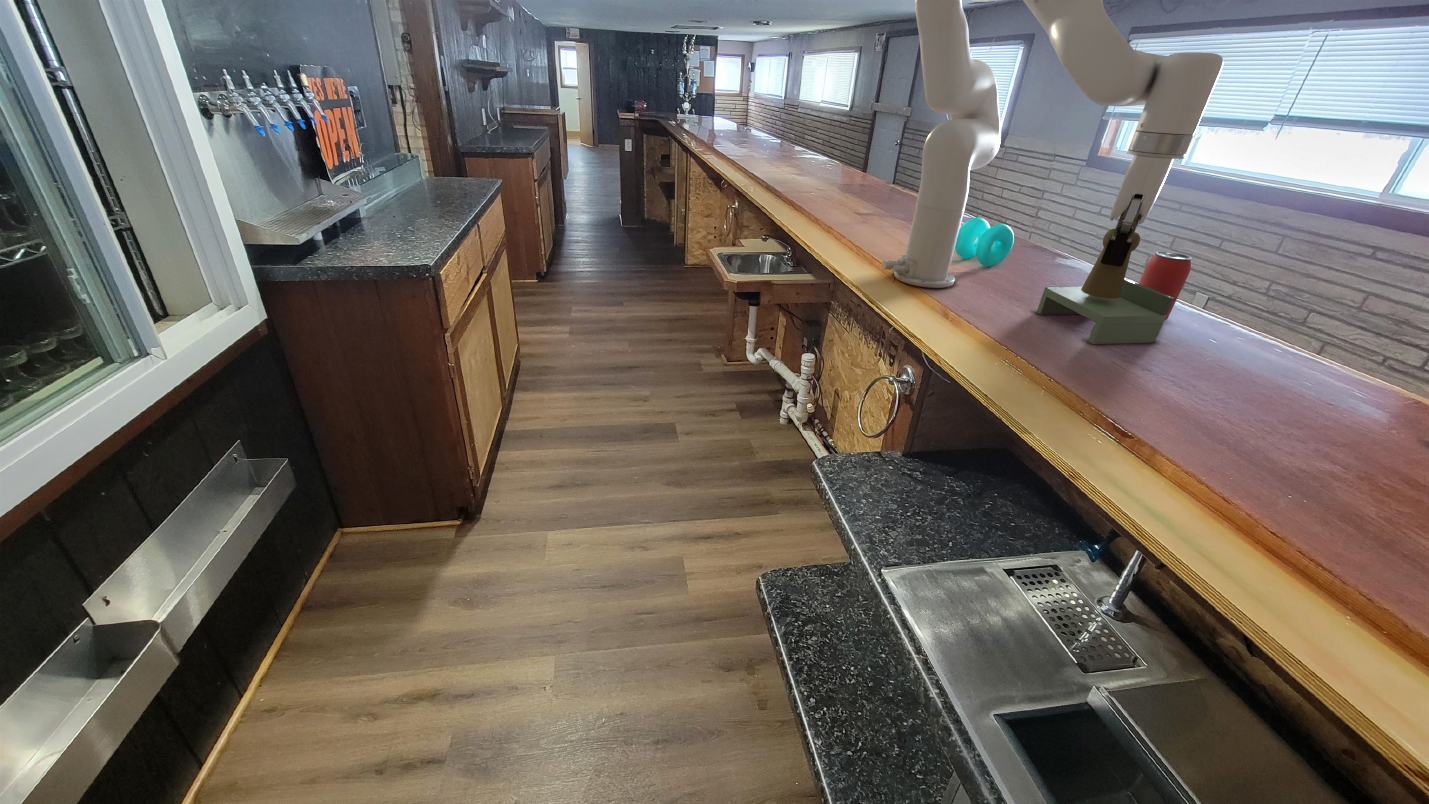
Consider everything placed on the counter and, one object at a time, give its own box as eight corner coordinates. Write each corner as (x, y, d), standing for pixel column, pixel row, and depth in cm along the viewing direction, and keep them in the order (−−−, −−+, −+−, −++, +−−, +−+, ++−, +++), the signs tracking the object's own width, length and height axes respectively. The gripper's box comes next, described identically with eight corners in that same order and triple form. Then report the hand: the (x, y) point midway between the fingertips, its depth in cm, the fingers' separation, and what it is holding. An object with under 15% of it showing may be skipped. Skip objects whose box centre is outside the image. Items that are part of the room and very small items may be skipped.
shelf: (1092, 344, 95) (1111, 299, 91) (1036, 312, 108) (1050, 271, 104) (1154, 342, 97) (1175, 298, 93) (1091, 311, 110) (1107, 271, 106)
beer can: (1153, 312, 111) (1181, 251, 105) (1174, 324, 105) (1204, 261, 99) (1119, 309, 111) (1144, 249, 105) (1137, 322, 106) (1165, 258, 100)
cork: (1106, 300, 96) (1133, 235, 90) (1073, 289, 100) (1097, 226, 95) (1127, 296, 98) (1154, 232, 93) (1093, 285, 103) (1118, 224, 97)
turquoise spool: (977, 255, 144) (988, 215, 139) (1009, 266, 136) (1022, 224, 131) (947, 258, 140) (957, 217, 135) (978, 270, 132) (990, 226, 127)
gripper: (1133, 141, 95) (1093, 248, 105) (1126, 146, 83) (1081, 267, 92) (1187, 145, 92) (1140, 256, 101) (1188, 152, 80) (1135, 277, 89)
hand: (1113, 260), depth 96 cm, fingers closed on cork, 5 cm apart
